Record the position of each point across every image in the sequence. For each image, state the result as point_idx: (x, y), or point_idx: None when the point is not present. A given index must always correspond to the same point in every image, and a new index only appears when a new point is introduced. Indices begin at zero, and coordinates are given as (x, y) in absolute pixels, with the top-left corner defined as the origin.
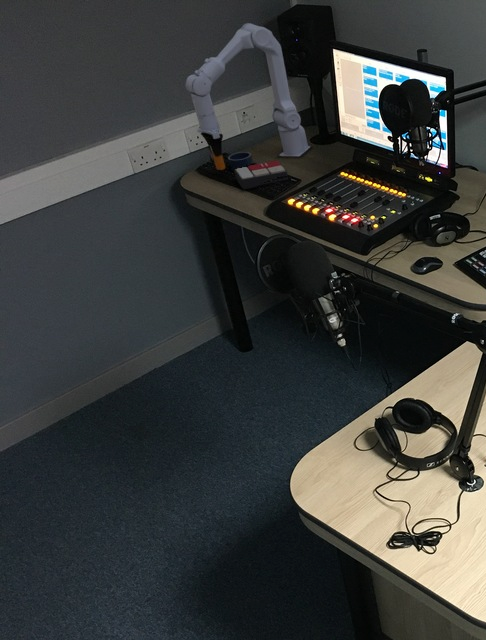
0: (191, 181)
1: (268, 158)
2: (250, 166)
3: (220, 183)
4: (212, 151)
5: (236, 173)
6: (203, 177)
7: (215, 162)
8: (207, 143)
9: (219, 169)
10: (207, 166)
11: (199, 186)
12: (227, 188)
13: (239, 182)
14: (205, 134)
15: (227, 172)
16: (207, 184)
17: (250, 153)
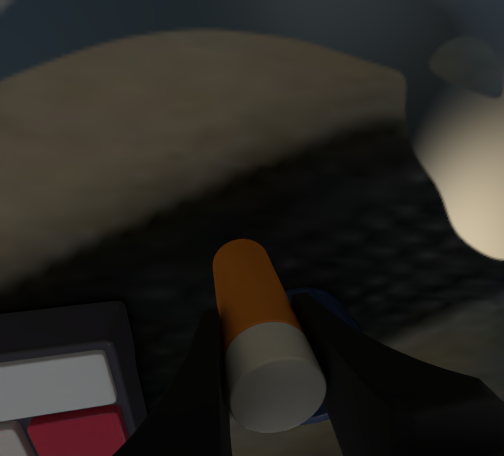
0: (264, 53)
1: (325, 423)
2: (97, 424)
3: (122, 217)
4: (243, 320)
5: (30, 349)
6: (285, 138)
7: (231, 266)
8: (357, 333)
9: (216, 255)
10: (434, 184)
11: (137, 88)
12: (12, 244)
13: (3, 324)
14: (393, 450)
15: (275, 267)
16: (147, 143)
17: (314, 422)
